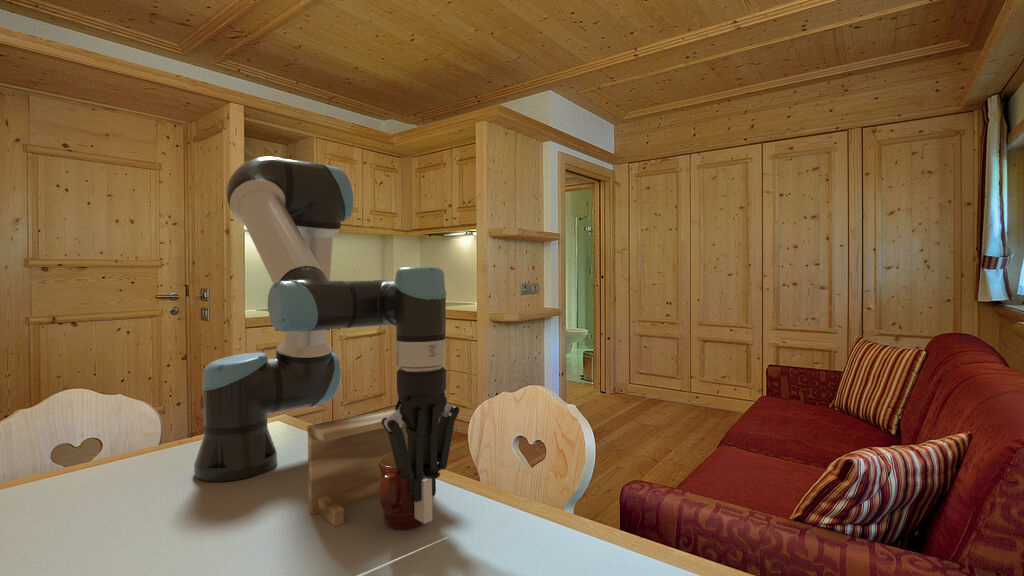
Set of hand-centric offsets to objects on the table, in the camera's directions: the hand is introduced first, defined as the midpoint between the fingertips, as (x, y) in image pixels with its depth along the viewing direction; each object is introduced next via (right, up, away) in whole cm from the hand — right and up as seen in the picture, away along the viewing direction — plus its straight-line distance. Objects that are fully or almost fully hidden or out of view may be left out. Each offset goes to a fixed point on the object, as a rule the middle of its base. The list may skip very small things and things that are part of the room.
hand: (423, 519), depth 79 cm
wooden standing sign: (-11, -2, +11) cm, 16 cm away
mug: (-4, -2, +2) cm, 5 cm away
